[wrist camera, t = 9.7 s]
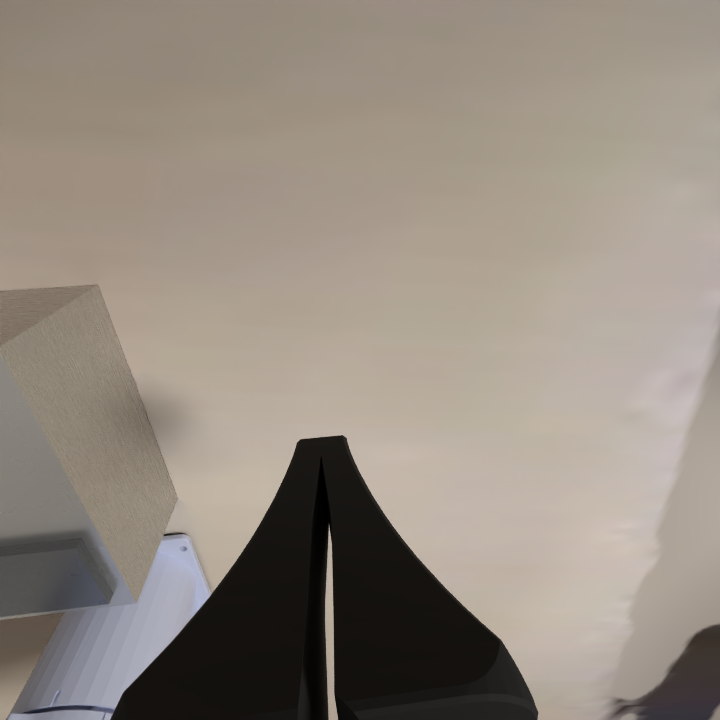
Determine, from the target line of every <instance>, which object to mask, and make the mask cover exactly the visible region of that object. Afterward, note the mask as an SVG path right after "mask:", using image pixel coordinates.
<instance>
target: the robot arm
mask: <svg viewBox="0 0 720 720" xmlns="http://www.w3.org/2000/svg"><path fill="white" fill-rule="evenodd" d="M329 526H330V533H331V540H332V560H333V606H334V692H335V701H336V707H337V714H338V720H537V718H538V711H537V708H536V706H535V703H534V700H533V697H532V695H531V693H530V691H529V689H528V687H527V685H526V683H525V681H524V679H523V677H522V675H521V673H520V671H519V669H518V667H517V666H516V664H515V662H514V660H513V659H512V657H511V655H510V654H509V652H508V650H507V649H506V647H505V645H504V644H503V642H502V641H501V640H500V639H499V638H498V637H497V636H496V635H495V634H494V633H493V632H491V631H490V630H489V629H488V628H487V627H486V626H485V625H484V624H482V623H481V622H480V621H479V620H478V619H477V618H476V617H475V616H474V615H473V614H472V613H471V612H469V611H468V610H467V609H466V608H465V607H464V606H463V605H462V604H461V603H460V602H459V601H458V600H457V599H456V598H455V597H454V596H453V595H452V594H451V593H450V592H449V591H448V590H447V589H446V588H445V587H444V586H443V585H442V584H441V583H440V582H439V581H438V579H437V578H436V577H435V576H434V575H433V574H432V573H431V572H430V571H429V570H428V569H427V567H426V566H425V565H424V564H423V563H422V562H421V561H420V560H419V559H418V558H417V556H416V555H415V554H414V553H413V551H412V550H411V549H410V548H409V547H408V545H407V544H406V543H405V542H404V540H403V539H402V538H401V536H400V535H399V534H398V532H397V531H396V530H395V529H394V527H393V526H392V524H391V523H390V522H389V520H388V519H387V517H386V516H385V514H384V513H383V511H382V510H381V508H380V507H379V505H378V504H377V502H376V501H375V499H374V497H373V496H372V494H371V492H370V491H369V489H368V487H367V485H366V483H365V482H364V480H363V478H362V476H361V474H360V472H359V470H358V468H357V466H356V464H355V462H354V459H353V457H352V455H351V452H350V449H349V446H348V443H347V438H346V437H344V436H343V435H341V436H331V437H320V438H310V439H301V440H300V441H298V442H297V445H296V449H295V452H294V455H293V458H292V460H291V463H290V465H289V468H288V470H287V472H286V475H285V477H284V479H283V481H282V483H281V485H280V487H279V490H278V492H277V494H276V496H275V498H274V500H273V502H272V503H271V505H270V507H269V509H268V511H267V512H266V514H265V516H264V518H263V520H262V521H261V523H260V525H259V527H258V528H257V530H256V532H255V533H254V535H253V536H252V538H251V540H250V541H249V543H248V544H247V546H246V547H245V549H244V550H243V552H242V553H241V555H240V556H239V558H238V559H237V561H236V562H235V563H234V565H233V566H232V568H231V569H230V570H229V572H228V573H227V574H226V576H225V577H224V579H223V580H222V581H221V583H220V584H219V585H218V587H217V588H216V589H215V590H214V592H213V593H212V594H211V592H210V589H209V587H208V584H207V581H206V579H205V576H204V574H203V571H202V568H201V566H200V563H199V560H198V558H197V555H196V552H195V550H194V547H193V544H192V542H191V539H190V537H189V536H187V535H185V534H179V535H170V536H163V538H162V540H161V543H160V545H159V548H158V550H157V553H156V556H155V558H154V561H153V563H152V566H151V568H150V571H149V573H148V576H147V579H146V581H145V584H144V586H143V589H142V591H141V594H140V596H139V599H138V602H137V604H128V605H120V606H112V607H104V608H95V609H87V610H79V611H71V612H64V614H63V616H62V618H61V619H60V621H59V623H58V625H57V627H56V629H55V631H54V632H53V634H52V636H51V638H50V640H49V642H48V644H47V645H46V647H45V649H44V651H43V653H42V655H41V657H40V658H39V660H38V662H37V664H36V666H35V668H34V669H33V671H32V673H31V675H30V677H29V679H28V681H27V682H26V684H25V686H24V688H23V690H22V692H21V694H20V695H19V697H18V699H17V701H16V703H15V705H14V707H13V708H12V710H11V712H10V714H9V715H8V717H7V718H6V720H328V694H327V667H326V638H325V592H326V572H327V552H328V531H329Z"/></svg>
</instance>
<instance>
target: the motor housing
mask: <svg viewBox="0 0 720 720" xmlns="http://www.w3.org/2000/svg"><path fill="white" fill-rule="evenodd" d="M177 499H178V498H177V496H176V493H175V490H174V488H173V485H172V482H171V480H170V477H169V474H168V472H167V469H166V466H165V464H164V461H163V458H162V455H161V453H160V450H159V447H158V445H157V442H156V439H155V437H154V434H153V431H152V429H151V426H150V423H149V421H148V418H147V415H146V413H145V410H144V407H143V405H142V402H141V399H140V397H139V394H138V391H137V389H136V386H135V383H134V381H133V378H132V375H131V372H130V370H129V367H128V364H127V362H126V359H125V356H124V354H123V351H122V348H121V346H120V343H119V340H118V338H117V335H116V332H115V330H114V327H113V324H112V322H111V319H110V316H109V314H108V311H107V308H106V306H105V303H104V300H103V298H102V295H101V292H100V290H99V287H98V285H89V286H74V287H59V288H44V289H28V290H13V291H0V620H5V619H13V618H21V617H30V616H38V615H46V614H54V613H63V612H71V611H79V610H87V609H95V608H104V607H112V606H120V605H128V604H137V602H138V599H139V596H140V594H141V591H142V589H143V586H144V584H145V581H146V579H147V576H148V573H149V571H150V568H151V566H152V563H153V561H154V558H155V556H156V553H157V550H158V548H159V545H160V543H161V540H162V538H163V535H164V533H165V530H166V527H167V525H168V522H169V520H170V517H171V515H172V512H173V510H174V507H175V504H176V502H177Z"/></svg>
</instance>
